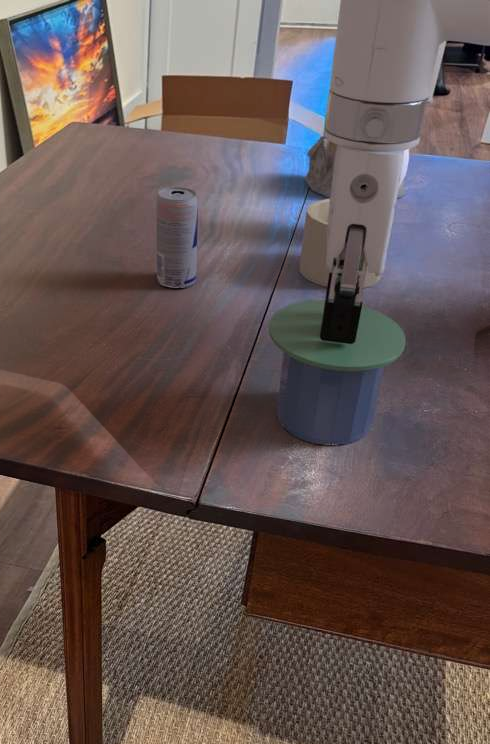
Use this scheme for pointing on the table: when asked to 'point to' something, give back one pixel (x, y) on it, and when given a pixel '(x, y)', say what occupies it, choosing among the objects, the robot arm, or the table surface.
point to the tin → (321, 246)
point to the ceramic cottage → (325, 168)
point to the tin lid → (302, 342)
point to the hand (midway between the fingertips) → (338, 325)
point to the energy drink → (177, 236)
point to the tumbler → (326, 402)
